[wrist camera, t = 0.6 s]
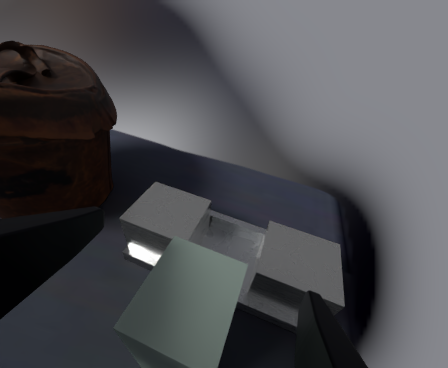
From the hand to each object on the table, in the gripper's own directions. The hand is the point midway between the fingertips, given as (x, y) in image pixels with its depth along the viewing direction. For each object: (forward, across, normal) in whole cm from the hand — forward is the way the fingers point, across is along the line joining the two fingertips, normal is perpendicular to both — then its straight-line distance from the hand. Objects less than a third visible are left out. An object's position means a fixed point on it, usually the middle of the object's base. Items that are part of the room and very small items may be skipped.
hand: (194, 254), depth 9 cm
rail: (+13, 0, +12) cm, 17 cm away
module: (+5, 0, +15) cm, 15 cm away
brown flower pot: (+14, +25, +12) cm, 31 cm away
